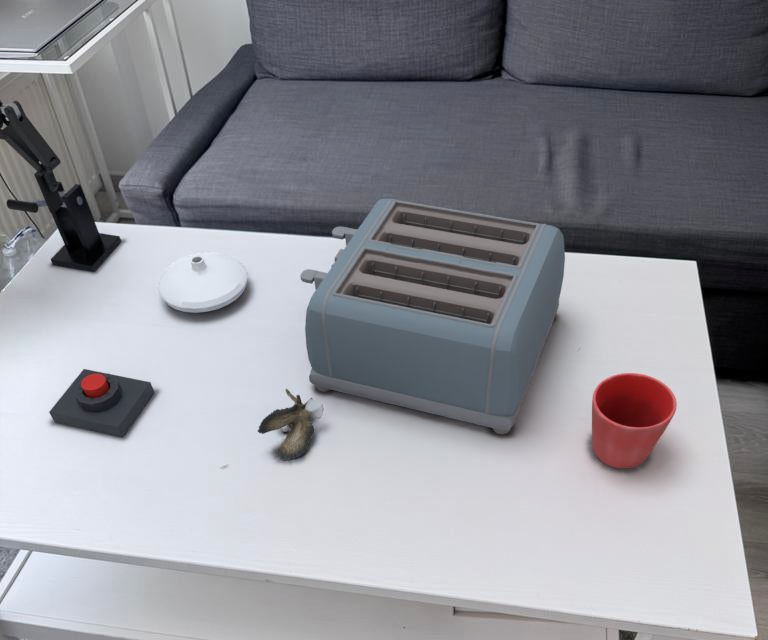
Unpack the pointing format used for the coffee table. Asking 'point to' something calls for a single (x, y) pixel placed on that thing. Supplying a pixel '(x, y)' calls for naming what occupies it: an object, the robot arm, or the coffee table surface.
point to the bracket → (80, 234)
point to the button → (95, 385)
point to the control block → (103, 404)
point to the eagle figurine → (293, 425)
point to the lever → (32, 203)
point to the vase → (202, 282)
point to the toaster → (436, 311)
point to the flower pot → (629, 418)
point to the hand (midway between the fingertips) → (21, 203)
